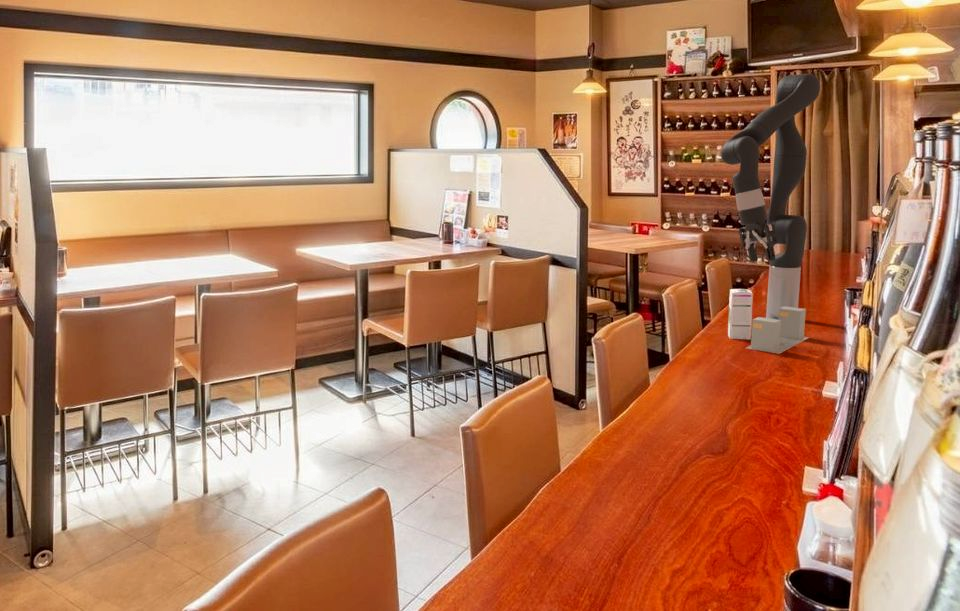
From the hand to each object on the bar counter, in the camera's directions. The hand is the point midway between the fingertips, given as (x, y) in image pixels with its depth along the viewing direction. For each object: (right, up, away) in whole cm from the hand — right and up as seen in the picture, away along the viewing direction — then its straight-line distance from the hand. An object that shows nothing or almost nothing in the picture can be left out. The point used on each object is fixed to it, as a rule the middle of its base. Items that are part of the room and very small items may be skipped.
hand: (762, 260), depth 219 cm
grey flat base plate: (-1, -24, -14) cm, 28 cm away
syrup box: (-9, -23, -6) cm, 26 cm away
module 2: (+5, -22, -7) cm, 23 cm away
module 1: (-7, -25, -21) cm, 33 cm away
